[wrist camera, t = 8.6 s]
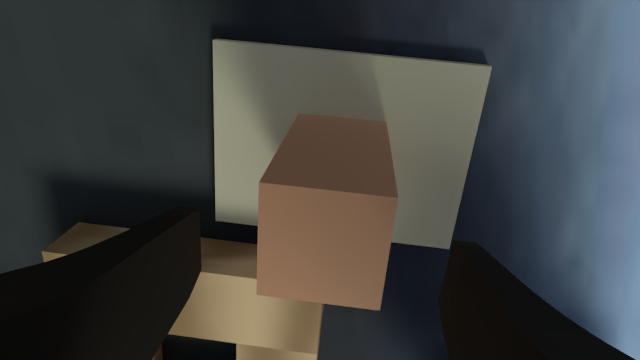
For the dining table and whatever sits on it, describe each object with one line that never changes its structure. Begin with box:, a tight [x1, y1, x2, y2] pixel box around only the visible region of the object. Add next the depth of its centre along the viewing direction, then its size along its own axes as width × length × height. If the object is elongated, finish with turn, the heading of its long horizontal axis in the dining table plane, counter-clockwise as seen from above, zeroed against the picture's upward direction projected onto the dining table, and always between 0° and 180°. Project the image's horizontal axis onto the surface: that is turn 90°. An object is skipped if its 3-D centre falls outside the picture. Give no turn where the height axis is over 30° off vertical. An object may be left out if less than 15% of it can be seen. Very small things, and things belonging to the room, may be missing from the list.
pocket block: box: [42, 222, 324, 360], centre depth 25 cm, size 14×14×3 cm
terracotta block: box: [256, 113, 398, 311], centre depth 17 cm, size 4×4×8 cm
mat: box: [213, 39, 492, 249], centre depth 21 cm, size 12×9×1 cm
